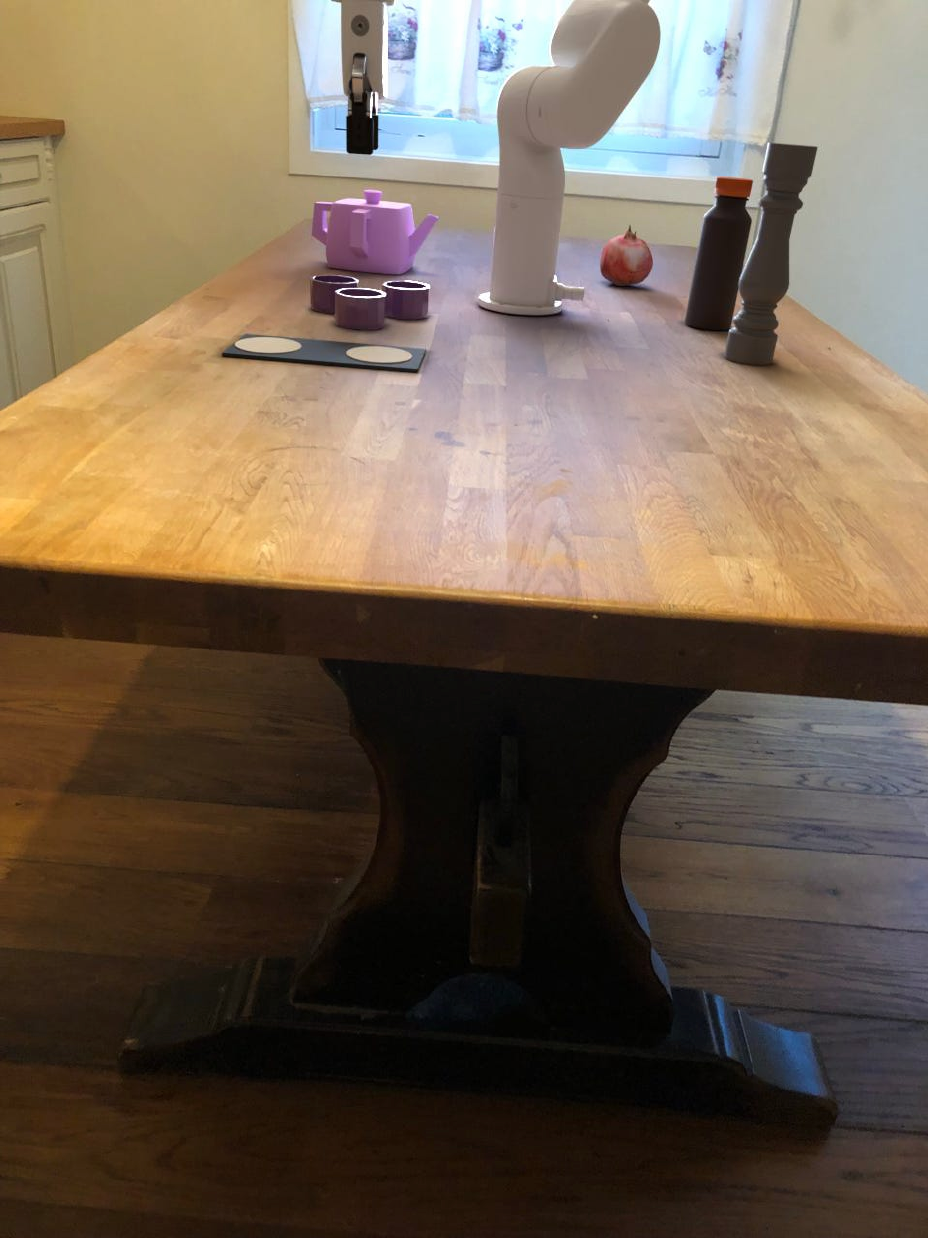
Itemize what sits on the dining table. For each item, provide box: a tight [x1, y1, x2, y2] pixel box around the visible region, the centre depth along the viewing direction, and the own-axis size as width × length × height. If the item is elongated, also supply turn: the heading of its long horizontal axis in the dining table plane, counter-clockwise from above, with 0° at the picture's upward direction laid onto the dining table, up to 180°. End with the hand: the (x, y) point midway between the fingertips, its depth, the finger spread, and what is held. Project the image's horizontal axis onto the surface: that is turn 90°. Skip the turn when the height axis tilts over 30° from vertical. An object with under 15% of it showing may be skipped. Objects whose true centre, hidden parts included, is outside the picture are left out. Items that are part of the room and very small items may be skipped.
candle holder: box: [723, 142, 819, 366], centre depth 117 cm, size 6×6×25 cm
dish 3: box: [381, 280, 431, 321], centre depth 132 cm, size 6×7×4 cm
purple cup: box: [309, 274, 360, 315], centre depth 132 cm, size 6×7×4 cm
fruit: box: [599, 224, 654, 287], centre depth 167 cm, size 9×10×10 cm
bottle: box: [684, 176, 754, 331], centre depth 136 cm, size 7×7×20 cm
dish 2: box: [334, 287, 387, 331], centre depth 125 cm, size 6×7×4 cm
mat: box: [221, 333, 427, 374], centre depth 110 cm, size 22×10×1 cm, turn 86°
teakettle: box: [311, 189, 439, 275], centre depth 164 cm, size 17×17×12 cm
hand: (362, 151), depth 119 cm, fingers open, 9 cm apart
